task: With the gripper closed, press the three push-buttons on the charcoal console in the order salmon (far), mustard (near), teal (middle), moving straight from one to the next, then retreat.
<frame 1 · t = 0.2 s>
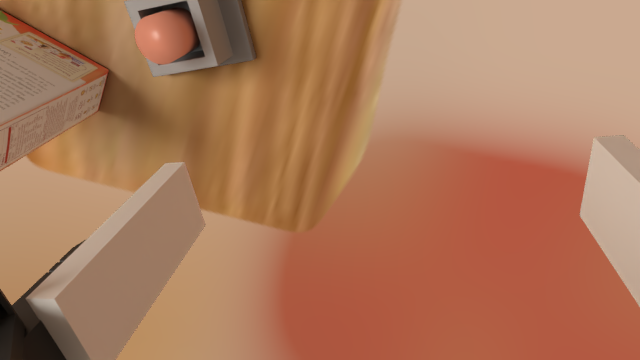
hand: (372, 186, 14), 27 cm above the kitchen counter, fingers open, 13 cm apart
salmon button: (170, 35, 35), point 5 cm above the kitchen counter, slide at 0.0 cm
cracker box: (45, 58, 44), on the kitchen counter
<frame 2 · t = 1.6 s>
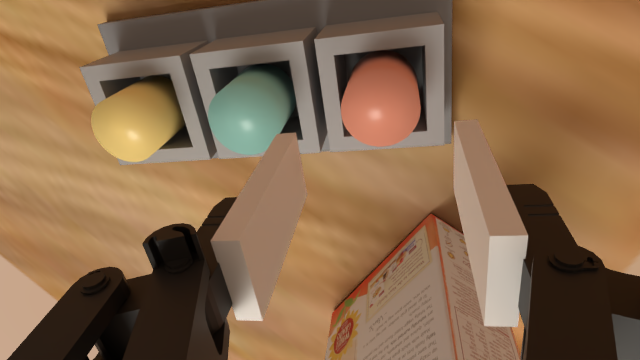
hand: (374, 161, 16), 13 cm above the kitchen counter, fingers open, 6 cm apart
teal button: (255, 107, 23), point 5 cm above the kitchen counter, slide at 0.0 cm
salmon button: (381, 96, 22), point 5 cm above the kitchen counter, slide at 0.0 cm
cracker box: (405, 280, 35), on the kitchen counter
mustard button: (144, 117, 25), point 5 cm above the kitchen counter, slide at 0.0 cm
console: (278, 79, 28), on the kitchen counter
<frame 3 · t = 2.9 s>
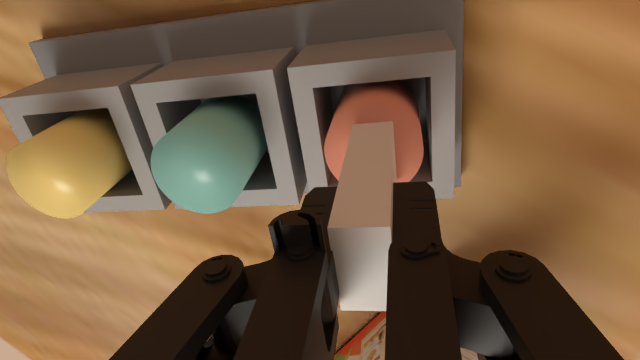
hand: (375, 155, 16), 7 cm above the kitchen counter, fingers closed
teal button: (215, 150, 19), point 5 cm above the kitchen counter, slide at 0.0 cm
salmon button: (375, 130, 18), point 4 cm above the kitchen counter, slide at 1.0 cm, touching gripper
cracker box: (404, 334, 30), on the kitchen counter
mustard button: (79, 160, 20), point 5 cm above the kitchen counter, slide at 0.0 cm
console: (251, 108, 23), on the kitchen counter
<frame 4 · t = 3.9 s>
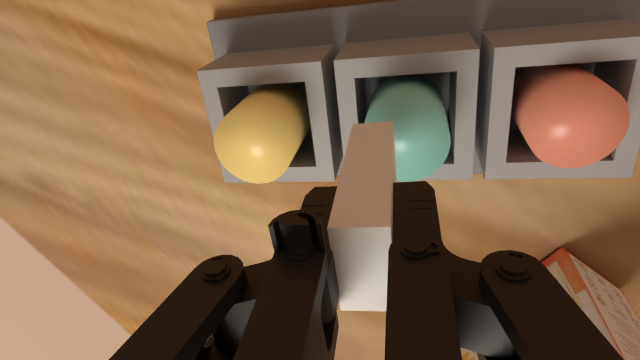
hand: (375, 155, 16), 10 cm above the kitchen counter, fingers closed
teal button: (405, 124, 20), point 5 cm above the kitchen counter, slide at 0.0 cm
salmon button: (561, 110, 19), point 4 cm above the kitchen counter, slide at 1.0 cm
cracker box: (514, 318, 31), on the kitchen counter
mustard button: (265, 130, 21), point 5 cm above the kitchen counter, slide at 0.0 cm
console: (406, 91, 24), on the kitchen counter
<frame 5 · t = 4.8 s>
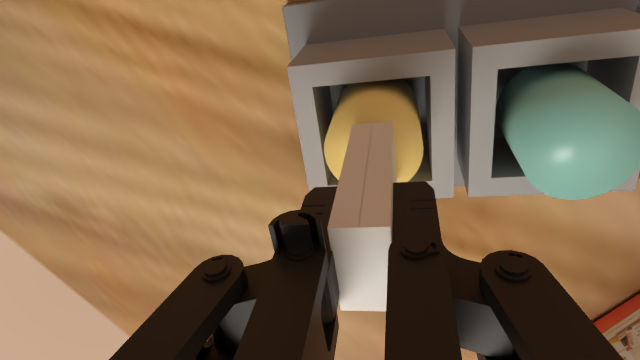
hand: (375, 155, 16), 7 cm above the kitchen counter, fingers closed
teal button: (561, 126, 16), point 5 cm above the kitchen counter, slide at 0.0 cm
cracker box: (621, 338, 28), on the kitchen counter
mustard button: (375, 129, 18), point 4 cm above the kitchen counter, slide at 1.0 cm, touching gripper
console: (523, 83, 20), on the kitchen counter
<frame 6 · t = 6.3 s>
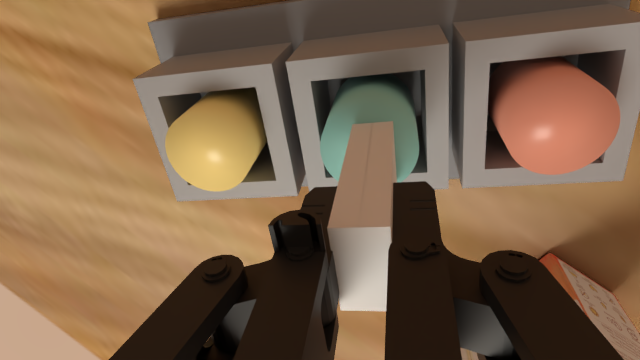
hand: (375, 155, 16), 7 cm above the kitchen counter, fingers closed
teal button: (371, 128, 18), point 5 cm above the kitchen counter, slide at 0.4 cm, touching gripper
salmon button: (543, 108, 17), point 4 cm above the kitchen counter, slide at 1.0 cm
cracker box: (502, 327, 30), on the kitchen counter
mustard button: (224, 133, 20), point 4 cm above the kitchen counter, slide at 1.1 cm
console: (375, 91, 22), on the kitchen counter
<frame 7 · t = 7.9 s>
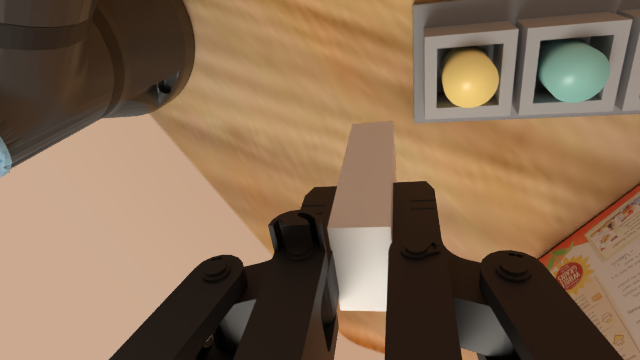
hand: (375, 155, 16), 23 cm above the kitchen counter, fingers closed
teal button: (568, 68, 31), point 4 cm above the kitchen counter, slide at 1.1 cm
cracker box: (609, 235, 41), on the kitchen counter
mustard button: (467, 75, 32), point 4 cm above the kitchen counter, slide at 1.1 cm
console: (551, 55, 34), on the kitchen counter
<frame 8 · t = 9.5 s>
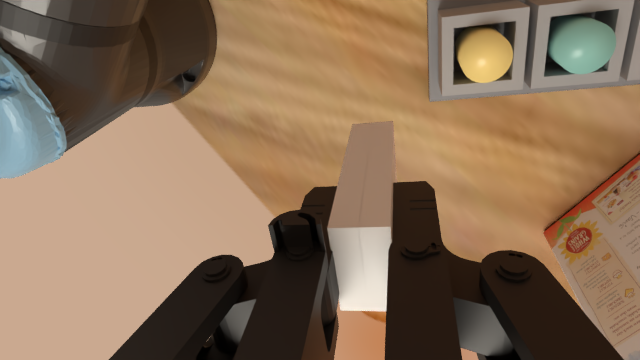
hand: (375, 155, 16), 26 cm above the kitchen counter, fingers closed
teal button: (576, 42, 33), point 4 cm above the kitchen counter, slide at 1.1 cm
cracker box: (614, 201, 44), on the kitchen counter
mustard button: (481, 52, 34), point 4 cm above the kitchen counter, slide at 1.1 cm
console: (558, 32, 36), on the kitchen counter
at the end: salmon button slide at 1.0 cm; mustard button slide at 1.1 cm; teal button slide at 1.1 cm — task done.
